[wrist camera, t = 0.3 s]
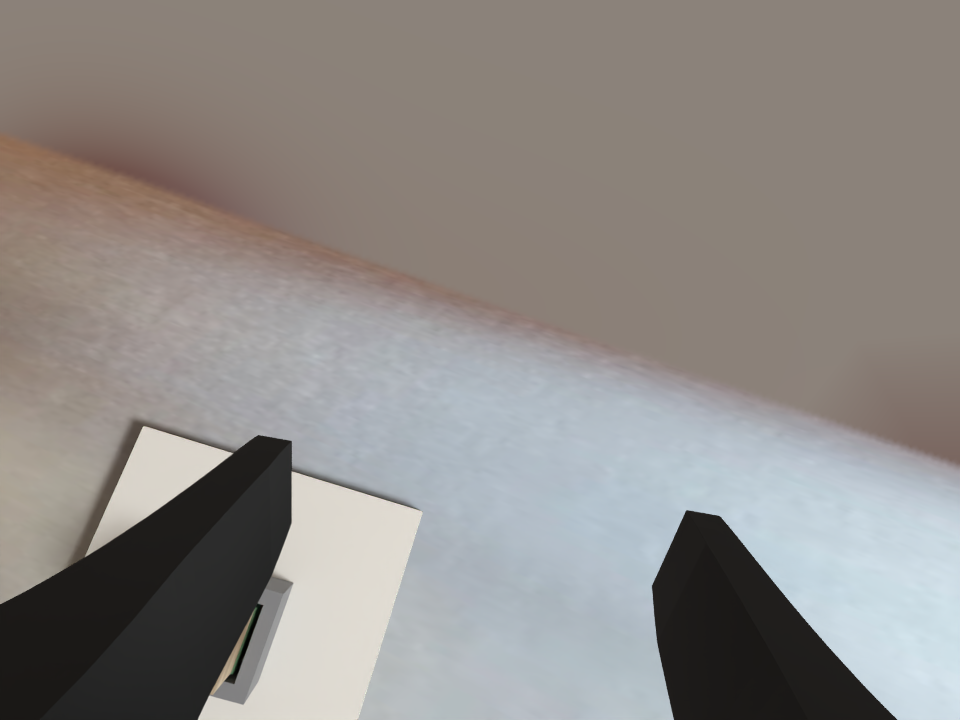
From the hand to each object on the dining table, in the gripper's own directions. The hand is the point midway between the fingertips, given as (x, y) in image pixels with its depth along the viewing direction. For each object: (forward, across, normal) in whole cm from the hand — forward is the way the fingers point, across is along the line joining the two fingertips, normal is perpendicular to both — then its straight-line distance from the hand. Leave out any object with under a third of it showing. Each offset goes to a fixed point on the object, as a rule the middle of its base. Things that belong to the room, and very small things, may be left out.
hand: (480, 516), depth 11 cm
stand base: (+15, +12, +26) cm, 32 cm away
